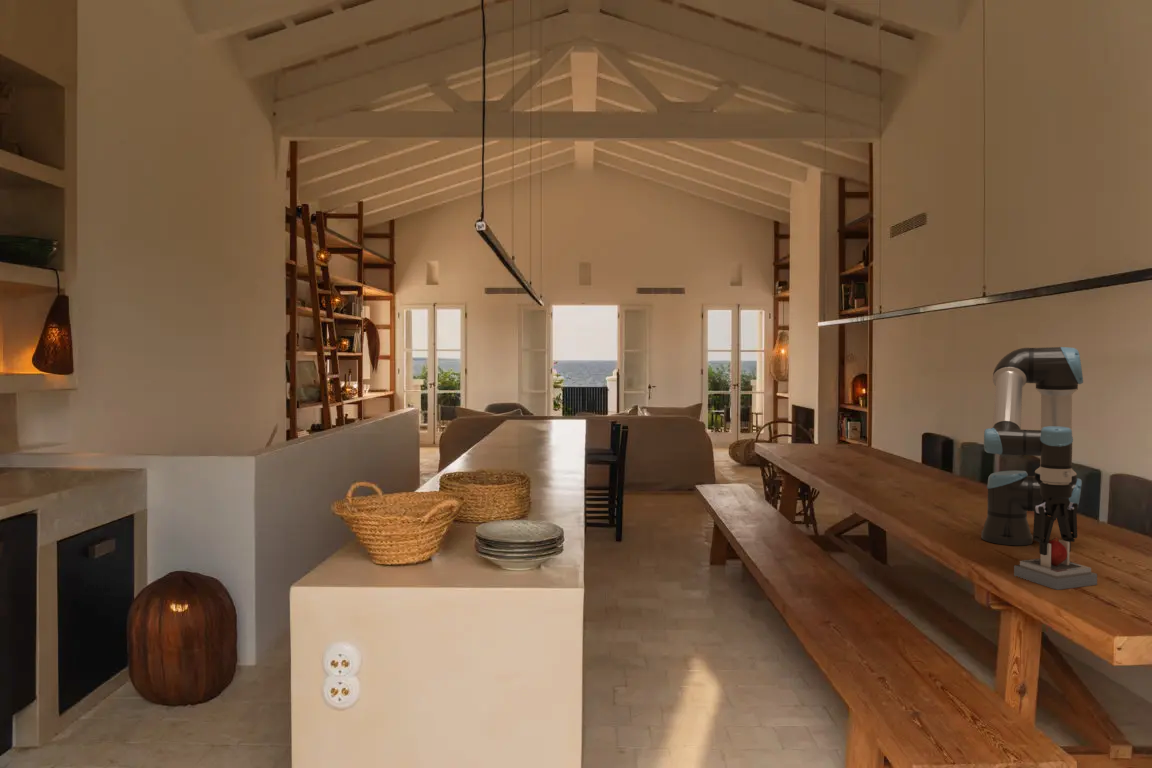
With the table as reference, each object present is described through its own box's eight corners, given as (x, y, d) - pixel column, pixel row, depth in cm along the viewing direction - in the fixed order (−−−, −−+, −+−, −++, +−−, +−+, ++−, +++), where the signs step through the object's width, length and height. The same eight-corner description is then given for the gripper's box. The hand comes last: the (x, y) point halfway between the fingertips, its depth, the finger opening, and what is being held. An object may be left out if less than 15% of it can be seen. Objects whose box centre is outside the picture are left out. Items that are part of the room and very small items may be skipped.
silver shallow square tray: (1014, 575, 224) (1014, 560, 224) (1052, 571, 228) (1052, 555, 228) (1057, 589, 211) (1057, 573, 211) (1097, 584, 215) (1097, 568, 215)
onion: (1044, 567, 218) (1045, 539, 218) (1040, 562, 223) (1041, 534, 223) (1069, 569, 216) (1069, 540, 215) (1064, 564, 221) (1064, 535, 221)
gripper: (1040, 487, 212) (1039, 571, 213) (1094, 482, 218) (1093, 565, 219) (1017, 482, 219) (1016, 564, 220) (1070, 478, 225) (1069, 558, 226)
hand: (1054, 564), depth 219 cm, fingers closed on onion, 6 cm apart
